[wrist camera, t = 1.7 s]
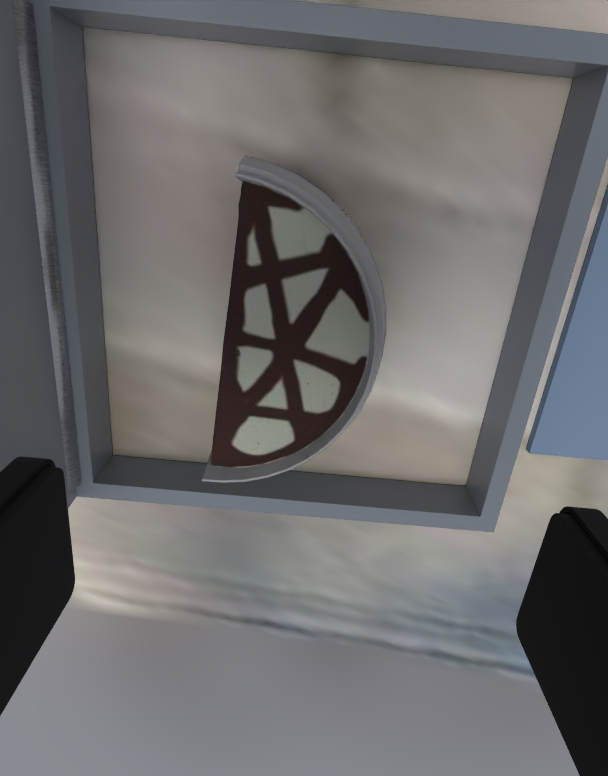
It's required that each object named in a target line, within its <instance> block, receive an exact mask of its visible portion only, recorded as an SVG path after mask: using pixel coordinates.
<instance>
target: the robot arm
mask: <svg viewBox="0 0 608 776" xmlns="http://www.w3.org/2000/svg"><path fill="white" fill-rule="evenodd" d="M74 584H75V574H74V564H73V554H72V545H71V535H70V526H69V516H68V507H67V497H66V488H65V478H64V472H63V470H62V469H61V468H58V467H56V466H55V463H54V462H53V460H51V459H45V458H34V457H23V456H21V457H17V458H15V459H14V460H13V461H12V462H11V463H9V464H8V465H7V466H6V467H5V468H4V469H3V470H2V471H1V472H0V715H1V713H2V712H3V710H4V709H5V707H6V705H7V703H8V702H9V700H10V698H11V697H12V695H13V693H14V691H15V690H16V688H17V686H18V685H19V683H20V682H21V680H22V678H23V676H24V675H25V673H26V672H27V670H28V668H29V666H30V665H31V663H32V661H33V660H34V658H35V656H36V655H37V653H38V651H39V650H40V648H41V646H42V644H43V643H44V641H45V640H46V637H47V636H48V634H49V633H50V631H51V629H52V628H53V626H54V624H55V623H56V621H57V619H58V618H59V616H60V614H61V613H62V611H63V609H64V608H65V606H66V604H67V603H68V601H69V599H70V597H71V595H72V592H73V589H74ZM516 626H517V634H518V637H519V640H520V642H521V644H522V647H523V649H524V651H525V653H526V656H527V658H528V660H529V662H530V665H531V667H532V669H533V671H534V674H535V676H536V678H537V680H538V683H539V685H540V687H541V689H542V692H543V694H544V696H545V698H546V701H547V703H548V705H549V707H550V710H551V711H552V714H553V716H554V719H555V721H556V723H557V725H558V728H559V730H560V732H561V734H562V737H563V739H564V741H565V743H566V746H567V748H568V750H569V752H570V755H571V757H572V759H573V761H574V763H575V766H576V768H577V770H578V773H579V775H580V776H608V519H607V517H606V516H605V515H604V514H603V513H602V512H601V511H599V510H597V509H589V508H578V507H564V508H563V509H562V510H561V511H560V513H556V514H554V515H553V516H552V517H551V519H550V522H549V525H548V527H547V530H546V533H545V536H544V539H543V542H542V545H541V548H540V551H539V554H538V557H537V560H536V563H535V566H534V569H533V572H532V575H531V578H530V581H529V584H528V587H527V590H526V592H525V595H524V598H523V601H522V604H521V607H520V610H519V613H518V616H517V623H516Z"/></svg>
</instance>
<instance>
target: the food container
mask: <svg viewBox="0 0 608 776" xmlns="http://www.w3.org/2000/svg"><path fill="white" fill-rule="evenodd" d="M235 176H236V177H237V178H238V179H240V180H241V181H242V182H243V183H242V187H241V196H240V201H239V219H238V229H237V238H236V246H235V254H234V262H233V271H232V279H231V288H230V297H229V304H228V312H227V320H226V327H225V335H224V343H223V353H222V364H221V375H220V383H219V392H218V400H217V409H216V418H215V427H214V436H213V445H212V451H211V454H210V457H209V460H208V463H207V466H206V469H205V473H204V476H203V479H202V481H209V482H221V483H226V482H246V481H252V480H257V479H263V478H268V477H271V476H274V475H277V474H280V473H283V472H286V471H289V470H291V469H293V468H295V467H297V466H299V465H301V464H303V463H305V462H307V461H308V460H310V459H311V458H313V457H314V456H315V455H317V454H318V453H320V452H321V451H323V450H324V449H325V448H327V447H328V446H329V445H330V444H331V443H332V442H333V441H334V440H335V439H336V438H338V437H339V436H340V435H341V434H342V433H343V432H344V431H345V430H346V429H347V428H348V426H349V425H350V424H351V422H352V421H353V420H354V419H355V417H356V416H357V415H358V413H359V412H360V411H361V409H362V407H363V405H364V403H365V401H366V399H367V398H368V396H369V394H370V392H371V390H372V387H373V384H374V381H375V378H376V375H377V372H378V369H379V366H380V362H381V359H382V355H383V348H384V342H385V336H386V304H385V298H384V293H383V287H382V281H381V279H380V276H379V273H378V270H377V267H376V264H375V261H374V258H373V256H372V254H371V252H370V250H369V249H368V247H367V245H366V243H365V241H364V239H363V237H362V236H361V234H360V232H359V231H358V230H357V228H356V227H355V226H354V224H353V223H352V222H351V220H350V219H349V218H348V217H347V215H346V214H345V213H344V211H343V210H342V209H341V208H340V207H338V206H337V205H336V204H335V203H334V202H333V201H332V200H331V199H330V198H329V197H328V196H327V195H326V194H325V193H324V192H323V191H321V190H320V189H318V188H317V187H315V186H314V185H312V184H311V183H309V182H308V181H306V180H305V179H303V178H302V177H300V176H299V175H297V174H295V173H293V172H291V171H288V170H286V169H284V168H282V167H280V166H278V165H275V164H273V163H271V162H267V161H264V160H260V159H256V158H253V157H249V156H245V157H244V159H243V160H242V161H241V162H240V164H239V172H236V173H235Z"/></svg>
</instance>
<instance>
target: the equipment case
mask: <svg viewBox="0 0 608 776" xmlns="http://www.w3.org/2000/svg"><path fill="white" fill-rule="evenodd" d="M82 27H90V28H100V29H109V30H119V31H128V32H138V33H147V34H157V35H166V36H176V37H185V38H195V39H204V40H214V41H224V42H233V43H243V44H252V45H262V46H271V47H281V48H290V49H300V50H309V51H319V52H328V53H338V54H348V55H357V56H367V57H376V58H386V59H395V60H405V61H414V62H424V63H433V64H443V65H452V66H462V67H471V68H481V69H491V70H500V71H510V72H519V73H529V74H538V75H548V76H557V77H567V78H573V82H572V86H571V90H570V93H569V97H568V101H567V105H566V109H565V112H564V116H563V120H562V124H561V128H560V131H559V135H558V139H557V143H556V146H555V150H554V154H553V158H552V162H551V165H550V169H549V173H548V177H547V181H546V184H545V188H544V192H543V196H542V200H541V203H540V207H539V211H538V215H537V219H536V222H535V226H534V230H533V234H532V238H531V241H530V245H529V249H528V253H527V257H526V260H525V264H524V268H523V272H522V275H521V279H520V283H519V287H518V291H517V294H516V298H515V302H514V306H513V310H512V313H511V317H510V321H509V325H508V329H507V332H506V336H505V340H504V344H503V348H502V351H501V355H500V359H499V363H498V367H497V370H496V374H495V378H494V382H493V385H492V389H491V393H490V397H489V401H488V404H487V408H486V412H485V416H484V420H483V423H482V427H481V431H480V435H479V439H478V442H477V446H476V450H475V454H474V458H473V461H472V465H471V469H470V473H469V477H468V480H467V484H466V486H457V485H445V484H434V483H423V482H411V481H400V480H389V479H377V478H366V477H354V476H343V475H332V474H320V473H309V472H297V471H286V472H283V473H280V474H277V475H274V476H271V477H268V478H263V479H257V480H252V481H246V482H226V483H221V482H209V481H202V479H203V476H204V473H205V469H206V466H207V464H206V463H195V462H184V461H172V460H161V459H149V458H138V457H127V456H115V455H113V453H112V439H111V425H110V411H109V397H108V383H107V368H106V354H105V340H104V326H103V312H102V298H101V284H100V269H99V255H98V241H97V227H96V213H95V199H94V185H93V170H92V156H91V142H90V128H89V114H88V100H87V86H86V71H85V57H84V43H83V29H82ZM607 157H608V34H603V33H593V32H584V31H575V30H565V29H556V28H547V27H537V26H528V25H519V24H509V23H500V22H490V21H481V20H472V19H462V18H453V17H444V16H434V15H425V14H416V13H406V12H397V11H387V10H378V9H369V8H359V7H350V6H341V5H331V4H322V3H313V2H303V1H294V0H0V472H1V471H2V470H3V469H4V468H5V467H6V466H7V465H8V464H9V463H11V462H12V461H13V460H14V459H15V458H17V457H21V456H23V457H34V458H45V459H51V460H53V462H54V463H55V466H56V467H58V468H61V469H62V470H63V472H64V478H65V488H66V497H67V507H68V508H69V506H70V505H71V503H72V502H73V501H74V499H75V498H76V497H77V496H78V497H90V498H102V499H113V500H125V501H136V502H148V503H160V504H171V505H183V506H195V507H206V508H218V509H229V510H241V511H253V512H264V513H276V514H288V515H299V516H311V517H322V518H334V519H346V520H357V521H369V522H381V523H392V524H404V525H415V526H427V527H439V528H450V529H462V530H474V531H485V532H494V530H495V526H496V523H497V520H498V516H499V513H500V510H501V506H502V503H503V500H504V497H505V493H506V490H507V487H508V483H509V480H510V477H511V474H512V470H513V467H514V464H515V460H516V457H517V454H518V450H519V447H520V444H521V441H522V437H523V434H524V431H525V427H526V424H527V421H528V417H529V414H530V411H531V408H532V404H533V401H534V398H535V394H536V391H537V388H538V384H539V381H540V378H541V375H542V371H543V368H544V365H545V361H546V358H547V355H548V352H549V348H550V345H551V342H552V338H553V335H554V332H555V328H556V325H557V322H558V319H559V315H560V312H561V309H562V305H563V302H564V299H565V295H566V292H567V289H568V286H569V282H570V279H571V276H572V272H573V269H574V266H575V262H576V259H577V256H578V253H579V249H580V246H581V243H582V239H583V236H584V233H585V230H586V226H587V223H588V220H589V216H590V213H591V210H592V206H593V203H594V200H595V197H596V193H597V190H598V187H599V183H600V180H601V177H602V173H603V170H604V167H605V164H606V160H607Z"/></svg>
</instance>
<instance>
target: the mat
mask: <svg viewBox="0 0 608 776" xmlns="http://www.w3.org/2000/svg"><path fill="white" fill-rule="evenodd" d="M526 449H527V451H528V452H529V453H531V454H542V455H554V456H565V457H576V458H587V459H598V460H608V187H607V190H606V193H605V196H604V200H603V203H602V206H601V209H600V212H599V216H598V219H597V222H596V225H595V229H594V232H593V235H592V238H591V241H590V245H589V248H588V251H587V254H586V258H585V261H584V264H583V267H582V271H581V274H580V277H579V280H578V283H577V287H576V290H575V293H574V296H573V300H572V303H571V306H570V309H569V312H568V316H567V319H566V322H565V325H564V329H563V332H562V335H561V338H560V341H559V345H558V348H557V351H556V354H555V358H554V361H553V364H552V367H551V371H550V374H549V377H548V380H547V383H546V387H545V390H544V393H543V396H542V400H541V403H540V406H539V409H538V412H537V416H536V419H535V422H534V425H533V429H532V432H531V435H530V438H529V442H528V445H527V448H526Z"/></svg>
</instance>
